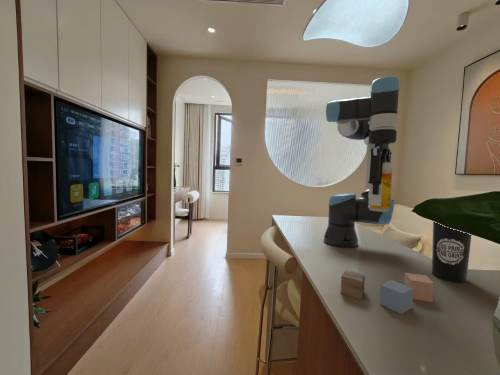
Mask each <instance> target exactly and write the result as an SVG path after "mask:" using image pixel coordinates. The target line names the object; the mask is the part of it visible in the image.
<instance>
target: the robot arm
mask: <svg viewBox="0 0 500 375" xmlns="http://www.w3.org/2000/svg"><path fill="white" fill-rule="evenodd" d="M399 93H400V79H399V78H398V77H396V76H391V75H388V76H381V77H379V78H376V79H374V80H373V81H372V82H371V87H370V96H367V97H359V98H349V99H347V98H346V99H339V100H338V99H337V100H331V101H328V102H327V103H326V105H325V106H326V107H325V119H326V121H327V122H329V123H336V124H337V131H338V132H339V135H341V136H342V137H344V138H347V139H350V140H352V141H353V140H357V141H363V143H364V145H366V161H365V163H366V164H365V165H366V166H365V185H364V186H365V187H364V191H363V192H361V196H357V194H356V193H354V192H352V193H340V194H333V195H330V196H329V199H328V200H329V201H328V218H327V219H328V221H327V226H326V227H327V228H326V230H325V232H324V235H323V242H324V243H325V242H326V243H325V244H327V243H328V245H330V246H332V247H333V246H334V247H340V248H355V247H357V246H358V245H359V238H358V234H357V231H356V226H355V225H356V223H359V224H361V223H362V224H372V225H377V226H378V225H389V224H390V223H391V221H392V217H393V212H394V207H395V198H392V197H391V200H390V209H389V210H388V211H387V212H379V211H372V210H370V209H369V208H368V198H369V184H372V186H371V205H375V206H381V196H382V184H381V179H382V169H383V163H384V162H389V163H391V164H392V161H391V160H392V150H391V149H390V148H389V145H390V144H395V143H396V142H397V134H398V133H397V128H398V119H399V118H398V116H399V115H398V108H399Z"/></svg>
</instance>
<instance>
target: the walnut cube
mask: <svg viewBox="0 0 500 375" xmlns="http://www.w3.org/2000/svg"><path fill="white" fill-rule="evenodd" d="M365 277H366V274H364V273H361V272H356V271H352V270H348V269H345V270H344V272H343V273H342V274H341V278H340V279H341V280H340V281H341V283H340V294H341V295H344V296H347V297H350V298H354V299H358V300H362V298H363V295H364V293H365V281H366V280H365V279H366V278H365Z"/></svg>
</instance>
